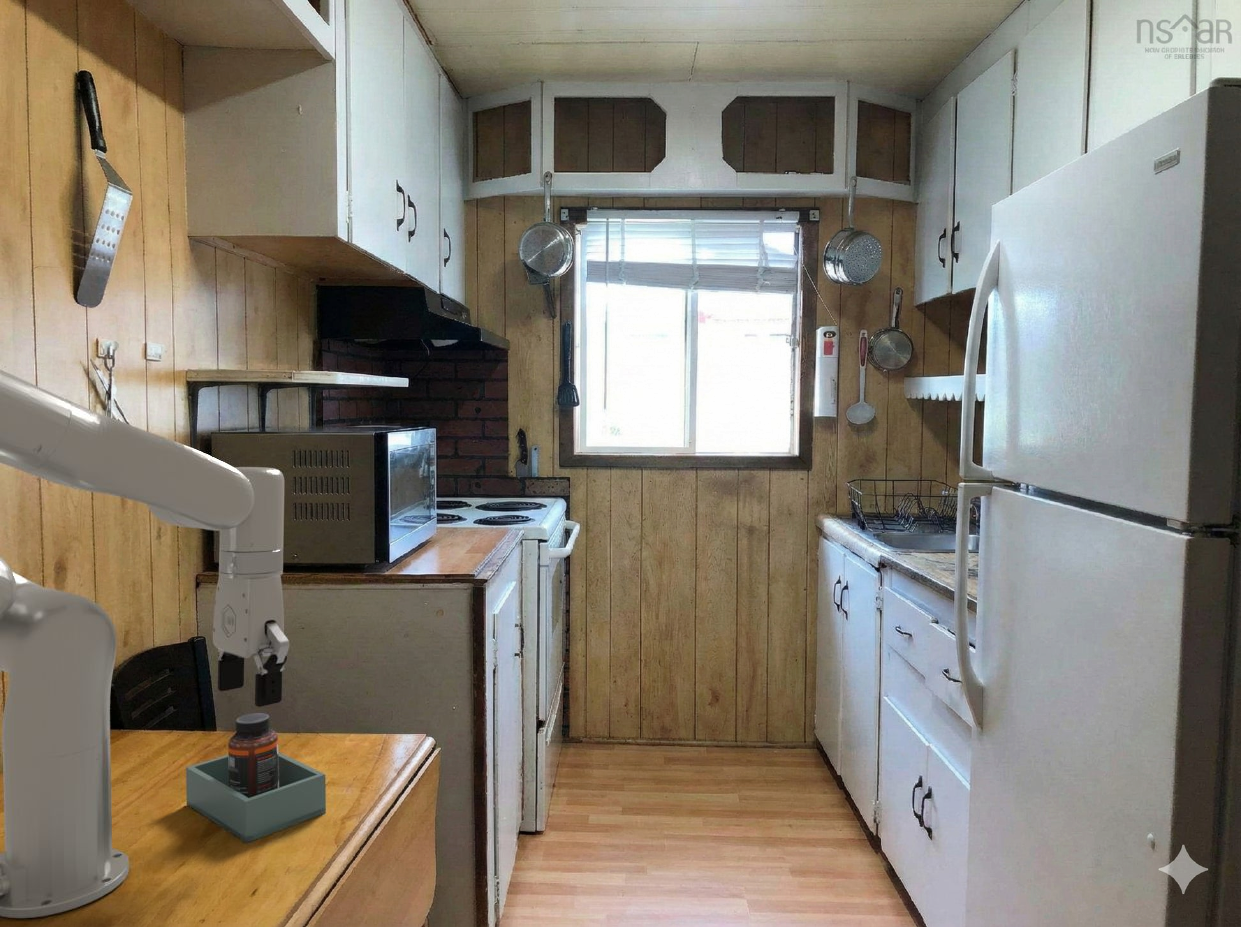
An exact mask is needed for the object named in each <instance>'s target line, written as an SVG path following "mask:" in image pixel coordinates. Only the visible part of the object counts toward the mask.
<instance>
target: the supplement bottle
mask: <svg viewBox="0 0 1241 927" xmlns="http://www.w3.org/2000/svg"><path fill="white" fill-rule="evenodd" d="M270 725H271V723H270V715H269V714H267V713H263V712H255V713H248V714H245V715H241V716H240V717H237V719H235V730H236V731H235V733H234V734H233V735H232V736H231V737H230V739H229V740H228V744H227V745H228V748H227V749H228V750H227V751H228V754H227V755H228V760H229V787H230V788H232V789H233V790H235V791H237V792H239V793H241V794H242V795H244V796H246V797H248V798H251V797H254V796H257V795H260V794H263V793H265V792H268V791H271V790H274V789H277V788H279V763H278V752H279V737H278V734H277V732H276V731H275V730H273V729H272V728H271V727H270Z"/></svg>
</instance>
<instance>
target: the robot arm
mask: <svg viewBox="0 0 1241 927" xmlns="http://www.w3.org/2000/svg"><path fill="white" fill-rule="evenodd" d="M0 463H1V464H3V465H6V466H9V467H12V468H14V469H17V470H19V471H22V472H25V473H27V474H28V475H29V474H30V475H32V476H35V477H38V478H40V479H43V480H46V481H47V482H50V483H54V484H57V485H60V486H64V487H68V488H72V489H76V490H79V491H84V492H88V493H89V492H91V493H97V494H104V495H108V496H114V497H119V498H125V499H128V500H131V501H135V502H139V503H142V504H146V507H147V508H148V510H149V512H150V513H151V514H152V515H153V516H154V517H156V518H157V519H158V520H159V521H162V523H163V522H164V523H165V524H167V525H171V526H176V527H181V528H182V527H183V528H184V527H185V528H189V529H190V528H192V529H203V530H207V531H218V532H219V551H218V554H219V556H218V558H219V559H218V565H219V566H218V581H217V585H216V591H215V599H214V607H213V608H214V609H213V622H212V624H213V625H212V626H213V627H212V644H213V646H214V647H215V648H216V649H217V652H216V658H217V660H218V661H217V663H218V664H217V689H218V691H220V692H226V691H230V690H232V691H233V690H235V689H236V690H237V689H239V688H243V687H244V685H245V683H244V682H245V681H244V680H245V659H249V658H252V656H253V659H254V662H255V665H256V668H257V670H258V673H256V674H255V684H254V686H255V687H254V688H255V689H254V691H255V692H254V704H255V706H256V707H259V708H261V707H266V706H270V705H273V704H275V705H276V704H279V703H280V702H282V699H283V698H282V696H283V694H282V692H283V671H285V664H286V662H287V660H288V657H287V655H288V652H289V649H290V645H291V643H290V640H289V639H288V637H287V636H286V635H285V615H284V614H285V612H284V611H285V610H284V598H283V597H284V596H283V585H282V577H281V576H282V575H283V574H284V571H283V570H284V531H285V530H284V527H285V526H284V523H285V522H284V520H285V477H284V474H283V472H282V471H280V469H277V468H274V467H261V466H260V467H259V466H239V467H237V466H235V467H234V466H232V465H230V464H228V463H226V462H224V461H222V460H219V459H217V458H216V457H212V455H209V454H207V453H204V452H202V451H200V450H197V449H195V448H193V447H190V446H188V445H185V444H182V443H181V442H178V441H175V440H172V439H170V438H168V437H164V436H161V435H158V434H156V433H153V432H151V431H147V430H144V429H142V428H139V427H137V426H133V425H131V424H130V423H127V422H124V421H121V420H119V419H115V418H112V417H110V416H106V415H104V414H101V413H98V412H96V411H94V410H92V409H89V408H87V407H85V406H83V405H80V404H78V403H76V402H73V401H71V400H69V399H67V398H64V397H61V396H59V395H58V394H55V393H53V392H51V391H49V390H47V389H44V388H42V387H40V386H37V385H35V384H33V383H32V382H28V381H27V380H25V379H22V378H20V377H18V376H16V375H13V374H11V373H9V372H7V371H4V370H2V369H0ZM117 641H118V639H117V630H116V627H115V625H114V623H113V620H112V618H111V616H110V615H109V613H107V611H106V610H105V609H104V608H103V607H102V606H100V604H98V603H96V601H93V600H92V599H90V598H87V597H85V596H82V595H79V594H75V593H71V592H67V591H63V590H59V589H54V588H49V587H44V586H42V585H40V584H38V583H35V582H33V581H31V580H29V579H28V578H25V577H24V576H22V575H20V574H19V573H16V572H15V571H13V570H12V568H11V567H10V566H9V564H8V563H7V562H6V561H5V560H4V559H3V558H2V557H1V556H0V671H1V672H4V673H7V674H8V688H7V692H6V693H7V694H6V697H5V704H4V707H3V713H2V726H1V727H2V728H1V747H2V771H3V772H2V778H3V814H4V818H3V819H4V822H3V824H4V851H3V852H0V917H3V918H4V917H5V918H10V919H30V918H32V919H33V918H39V917H47V916H51V915H55V914H60V913H64V912H67V911H70V910H73V909H74V910H75V909H77V908H79V907H82V906H85V905H87V904H89V903H92V902H94V901H96V900H98V899H99V898H100V899H101V898H102V897H103V896H105V895H107V894H109V893H110V892H112V891H113V890H114V889H115V888H117V887H118V886H119V885H120V884H122V882H123V881H125V879H126V877H128V874H129V872H130V860H129V859H130V858H129V857H128V855H127V854H126V853H124V852H123V851H121V850H118V849H117V848H116V849H115V848H113V821H112V820H113V819H112V818H113V817H112V816H113V815H112V773H111V772H112V769H111V768H112V767H111V765H112V764H111V761H112V760H111V721H110V720H111V714H110V713H111V711H110V710H111V707H110V706H111V688H112V679H113V672H114V668H115V664H116V663H115V662H116V657H117V647H118V644H117V643H118V642H117ZM265 657H268V659H267V660H266V661H265Z"/></svg>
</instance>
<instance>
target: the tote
mask: <svg viewBox="0 0 1241 927" xmlns="http://www.w3.org/2000/svg"><path fill="white" fill-rule="evenodd" d="M278 763H279V788H277V789H274V790H271V791H268V792H265V793H263V794H260V795H257V796H254V797H251V798H248V797H246V796H244V795H242V794H241V793H239V792H237V791H235V790H233V789H232V788H230V787H229V760H228V754H226V755H223V756H220V757H215V758H213V759H210V760H206V761H203V762H200V763H196V764H193V765H190V766H187V767H185V775H186V776H185V777H186V778H185V779H186V781H185V782H186V786H185V787H186V790H185V791H186V806H188V807H189V806H190V809H192V808H193V809H192V810H193V811H195V810H196V811H195V812H199V813H198V814H201V815H202V816H203V817H205V818H206V817H207V819H208V820H209V819H210V821H211V822H212V823H214V824H215V825H217V826H219V827H221V828H222V829H224V830H225V831H227V832H228V833H230V834H231V835H233V836H235V837H236V838H237V839H239V840H240V841H242V842H244V843H246V844H249V843H251V842H253V841H255V840H258V839H261V838H265V837H267V836H269V835H272V834H274V833H276V832H279V831H282V830H285V829H288V828H289V827H292V826H295V825H298V824H301V823H303V822H305V821H308V820H311V819H314V818H316V817H319V816H321V815H324V814H326V813H327V812H326V810H327V809H326V808H327V803H326V802H327V800H326V799H327V798H326V797H327V795H326V794H327V793H326V792H327V791H326V786H327V785H326V773H323V772H321V771H319V770H317V769H315V768H313V767H311V766H309V765H307V764H304V763H302V762H301V761H298V760H296V759H294V758H292V757H290V756H288V755H286V754H284V753H282V752H279V751H278Z"/></svg>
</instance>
